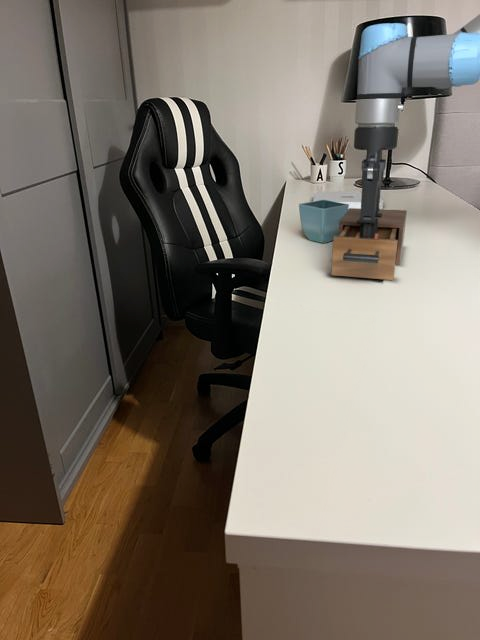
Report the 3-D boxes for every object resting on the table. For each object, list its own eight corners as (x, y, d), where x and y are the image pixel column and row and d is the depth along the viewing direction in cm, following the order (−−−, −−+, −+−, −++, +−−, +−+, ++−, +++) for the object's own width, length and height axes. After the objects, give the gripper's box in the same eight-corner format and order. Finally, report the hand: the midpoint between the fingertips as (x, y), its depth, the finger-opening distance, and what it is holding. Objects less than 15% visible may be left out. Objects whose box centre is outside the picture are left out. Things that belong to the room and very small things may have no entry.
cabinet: (399, 268, 101) (404, 224, 98) (336, 264, 105) (339, 221, 102) (402, 250, 114) (406, 210, 110) (346, 246, 118) (349, 208, 114)
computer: (312, 210, 159) (312, 201, 158) (315, 198, 179) (315, 191, 178) (383, 211, 156) (384, 202, 155) (378, 199, 176) (379, 191, 175)
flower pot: (322, 246, 118) (323, 208, 115) (296, 239, 125) (297, 203, 121) (347, 240, 123) (350, 204, 119) (322, 234, 130) (323, 199, 126)
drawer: (391, 289, 87) (395, 248, 85) (326, 283, 91) (328, 244, 88) (397, 260, 104) (401, 225, 101) (342, 256, 107) (344, 222, 104)
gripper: (396, 127, 80) (383, 268, 89) (401, 123, 95) (389, 244, 104) (348, 128, 82) (340, 265, 91) (360, 124, 97) (353, 242, 106)
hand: (367, 253), depth 97 cm, fingers closed on block, 4 cm apart
